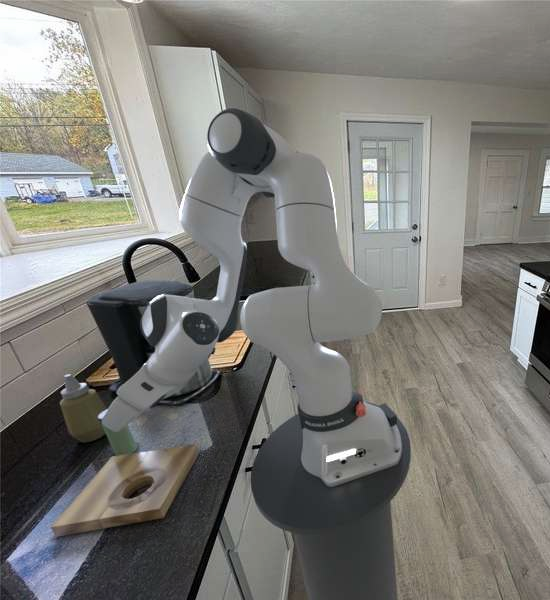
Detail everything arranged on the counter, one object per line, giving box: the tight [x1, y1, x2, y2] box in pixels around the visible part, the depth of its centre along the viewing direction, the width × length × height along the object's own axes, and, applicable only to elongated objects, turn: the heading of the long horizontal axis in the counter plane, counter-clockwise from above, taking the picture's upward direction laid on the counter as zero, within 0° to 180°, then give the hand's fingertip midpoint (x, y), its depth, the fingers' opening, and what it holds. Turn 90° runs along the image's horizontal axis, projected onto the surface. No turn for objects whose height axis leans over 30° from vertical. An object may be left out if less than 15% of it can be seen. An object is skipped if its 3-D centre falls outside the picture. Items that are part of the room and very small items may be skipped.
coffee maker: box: [85, 279, 221, 406], centre depth 93 cm, size 23×32×34 cm
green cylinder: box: [98, 408, 138, 456], centre depth 74 cm, size 4×4×12 cm
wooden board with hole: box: [50, 443, 200, 537], centre depth 65 cm, size 18×16×2 cm
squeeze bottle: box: [59, 373, 108, 443], centre depth 78 cm, size 8×8×18 cm
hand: (140, 408), depth 72 cm, fingers open, 8 cm apart
